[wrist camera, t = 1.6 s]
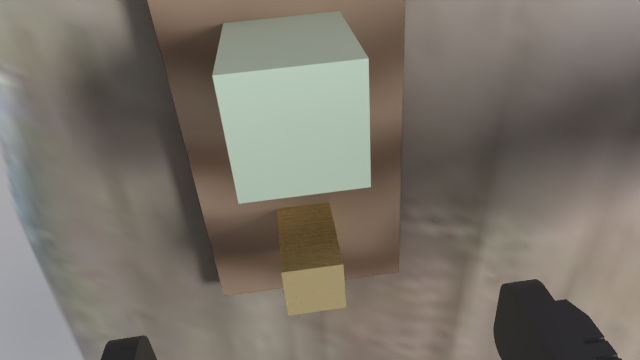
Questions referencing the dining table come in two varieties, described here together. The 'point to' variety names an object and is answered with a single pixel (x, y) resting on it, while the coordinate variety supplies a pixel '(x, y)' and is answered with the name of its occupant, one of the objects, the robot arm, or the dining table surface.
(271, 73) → the sage cap
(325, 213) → the brass post
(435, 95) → the dining table surface
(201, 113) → the walnut board
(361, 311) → the dining table surface
